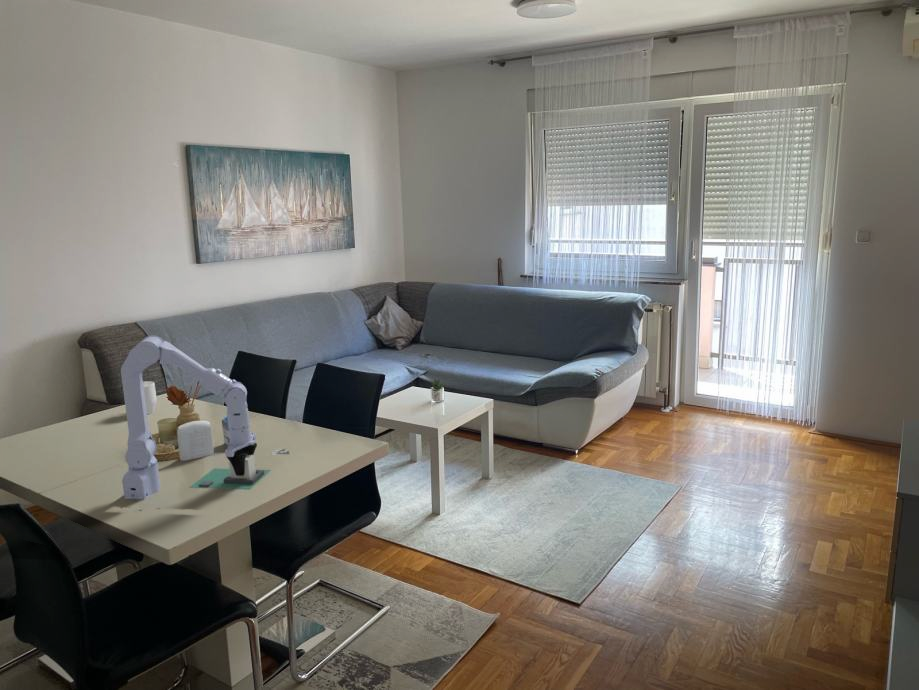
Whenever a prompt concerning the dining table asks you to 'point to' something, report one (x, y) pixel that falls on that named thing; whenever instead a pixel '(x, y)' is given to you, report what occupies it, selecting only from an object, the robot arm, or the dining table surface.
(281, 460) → the dining table surface
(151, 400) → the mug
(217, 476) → the board
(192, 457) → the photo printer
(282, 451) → the pliers
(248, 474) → the plug
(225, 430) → the milk carton
